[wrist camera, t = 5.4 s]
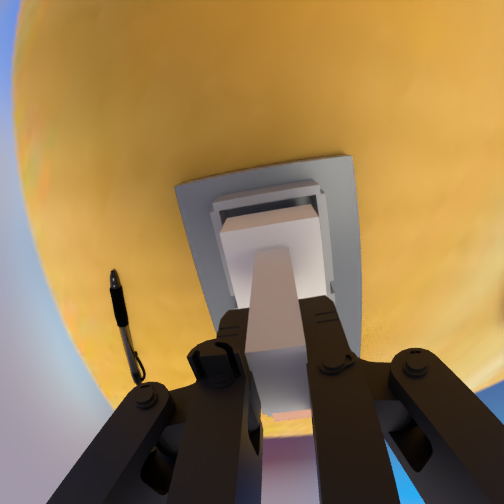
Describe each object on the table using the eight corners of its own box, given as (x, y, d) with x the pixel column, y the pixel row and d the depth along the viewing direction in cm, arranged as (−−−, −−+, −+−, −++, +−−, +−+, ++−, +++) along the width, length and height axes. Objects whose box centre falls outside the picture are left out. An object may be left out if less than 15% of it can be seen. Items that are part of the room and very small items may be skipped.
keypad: (180, 182, 18) (163, 192, 15) (345, 154, 17) (362, 157, 14) (244, 397, 26) (241, 424, 23) (354, 382, 25) (361, 409, 22)
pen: (149, 382, 27) (149, 390, 26) (134, 382, 27) (134, 390, 26) (126, 267, 22) (124, 274, 21) (107, 268, 21) (104, 274, 20)
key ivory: (226, 218, 15) (219, 233, 13) (310, 204, 15) (318, 216, 12) (243, 291, 17) (239, 315, 15) (319, 279, 16) (327, 302, 14)
